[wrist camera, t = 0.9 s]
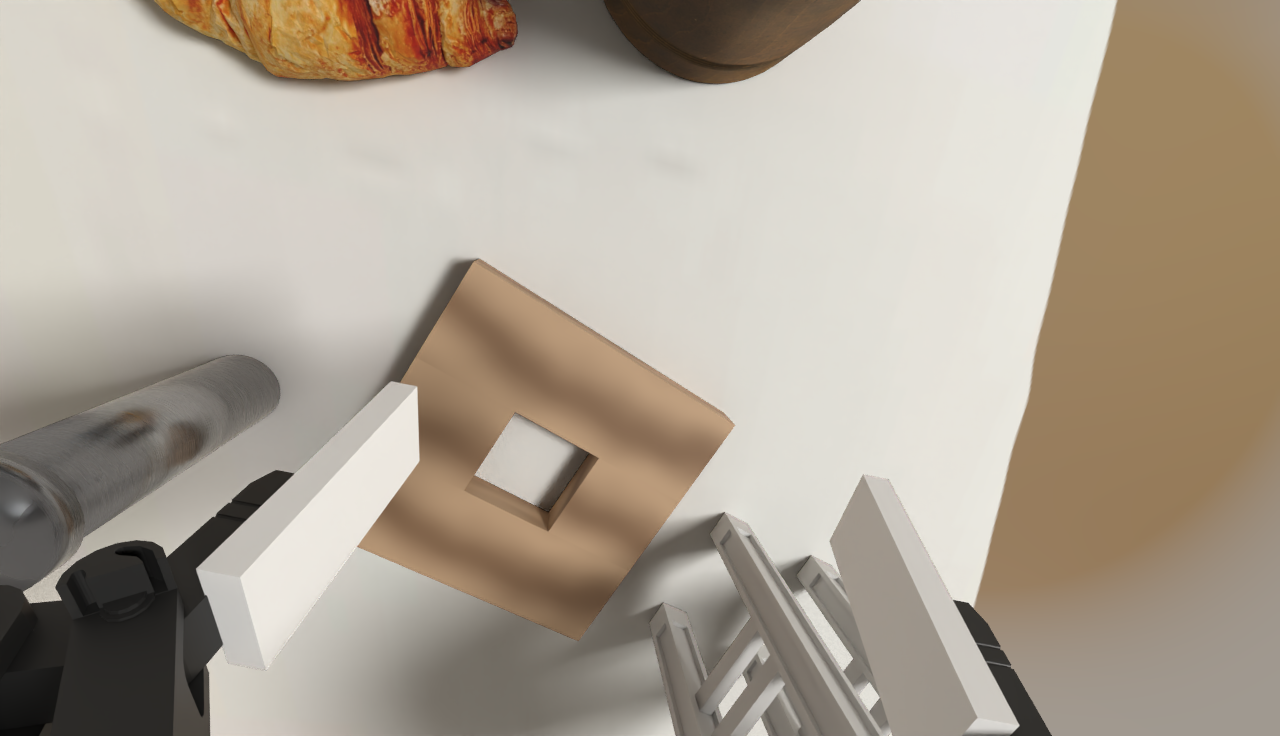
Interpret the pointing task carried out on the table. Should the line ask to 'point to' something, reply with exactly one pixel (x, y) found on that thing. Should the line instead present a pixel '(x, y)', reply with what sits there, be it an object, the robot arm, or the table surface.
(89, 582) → the robot arm
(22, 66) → the table surface
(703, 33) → the wooden container
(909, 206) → the table surface
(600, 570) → the keeper block
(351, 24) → the croissant
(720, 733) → the stool
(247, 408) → the link pin
